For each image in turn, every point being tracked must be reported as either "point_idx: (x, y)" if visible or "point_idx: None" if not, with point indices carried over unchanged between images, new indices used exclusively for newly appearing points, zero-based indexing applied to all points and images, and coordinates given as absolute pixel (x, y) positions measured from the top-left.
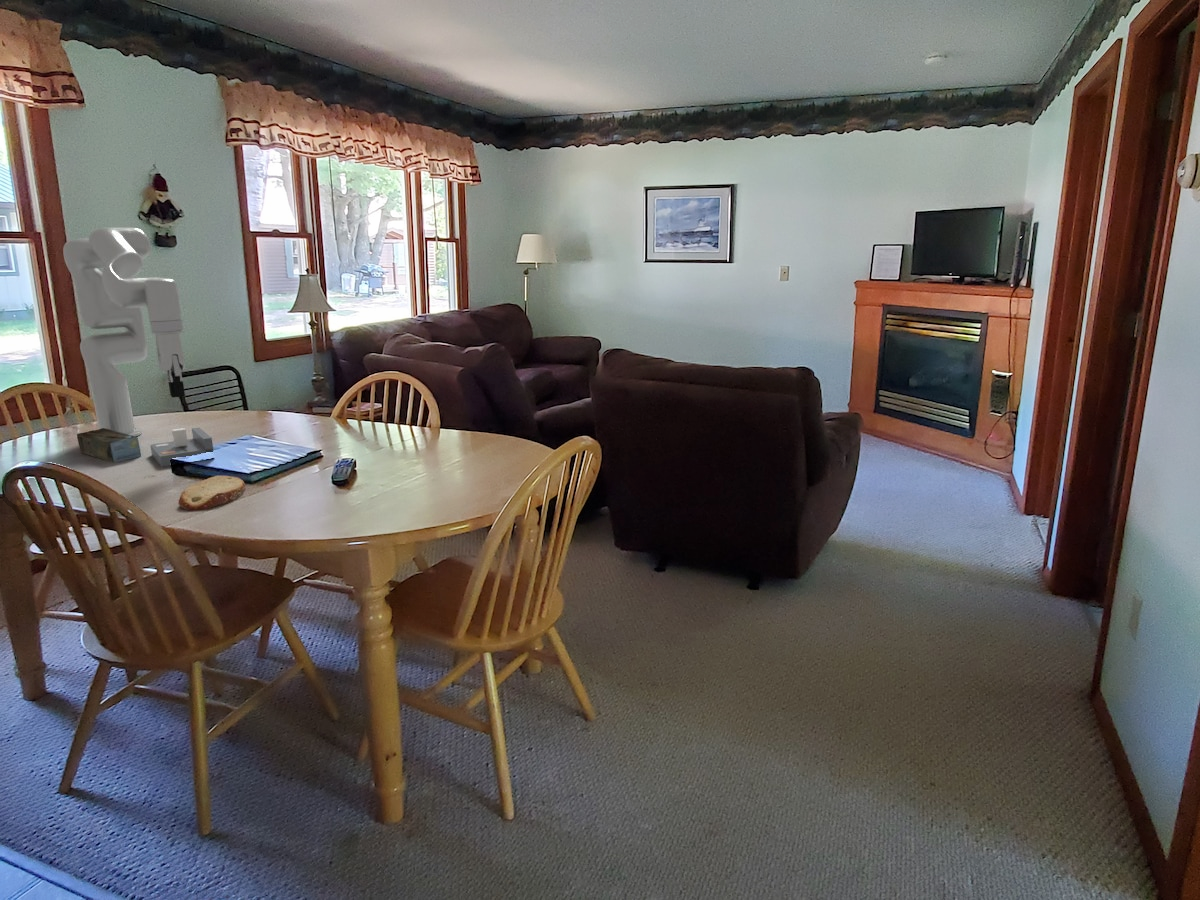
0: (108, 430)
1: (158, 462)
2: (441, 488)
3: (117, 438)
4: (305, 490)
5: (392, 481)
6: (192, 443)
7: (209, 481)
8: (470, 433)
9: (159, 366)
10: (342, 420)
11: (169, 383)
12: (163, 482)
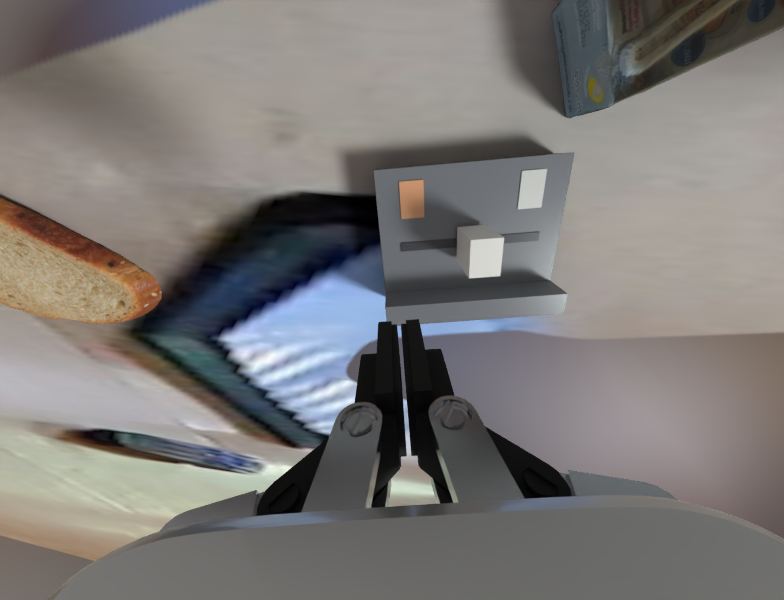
0: None
1: (433, 164)
2: (47, 508)
3: (668, 6)
4: (61, 393)
5: (95, 481)
6: None
7: (73, 263)
8: None
9: (680, 556)
10: None
11: (379, 387)
12: (200, 158)
